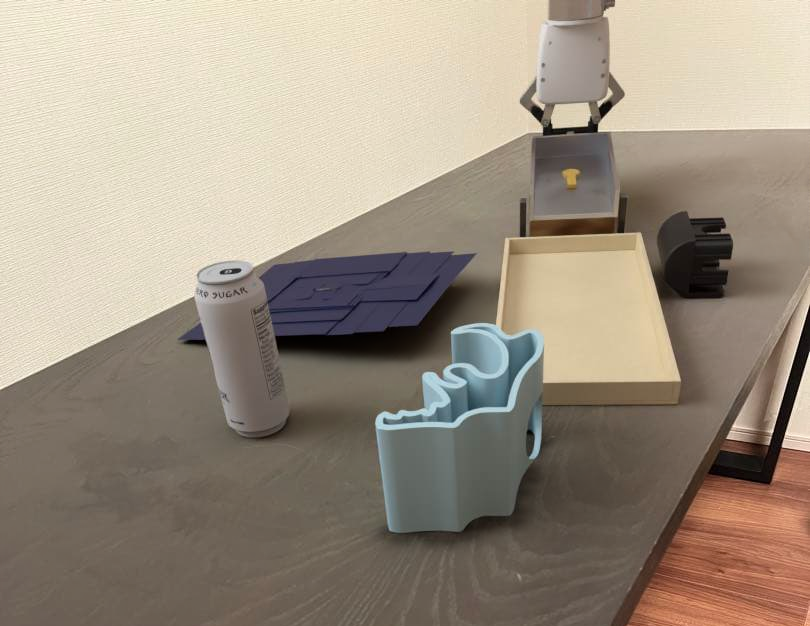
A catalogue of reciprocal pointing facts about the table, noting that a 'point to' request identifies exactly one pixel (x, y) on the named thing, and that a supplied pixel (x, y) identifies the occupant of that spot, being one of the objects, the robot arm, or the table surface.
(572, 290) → the tray
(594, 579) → the table surface
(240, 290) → the energy drink can
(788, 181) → the table surface
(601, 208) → the dish
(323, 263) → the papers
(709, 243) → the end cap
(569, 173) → the key
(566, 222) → the dish stand
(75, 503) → the table surface
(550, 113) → the robot arm
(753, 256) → the table surface
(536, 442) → the squiggly pen holder
